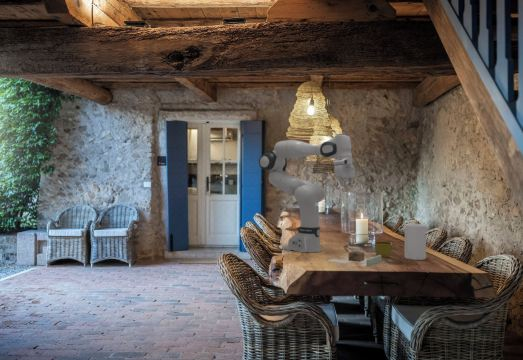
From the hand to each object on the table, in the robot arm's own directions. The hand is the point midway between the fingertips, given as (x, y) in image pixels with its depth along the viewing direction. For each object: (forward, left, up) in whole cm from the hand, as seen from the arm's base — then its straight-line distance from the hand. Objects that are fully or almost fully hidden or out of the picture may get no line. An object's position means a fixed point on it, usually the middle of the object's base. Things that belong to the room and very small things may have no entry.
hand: (346, 186), depth 262 cm
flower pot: (+22, 0, -39) cm, 45 cm away
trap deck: (+15, -22, -39) cm, 47 cm away
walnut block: (+15, -19, -37) cm, 45 cm away
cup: (+35, +14, -39) cm, 54 cm away
